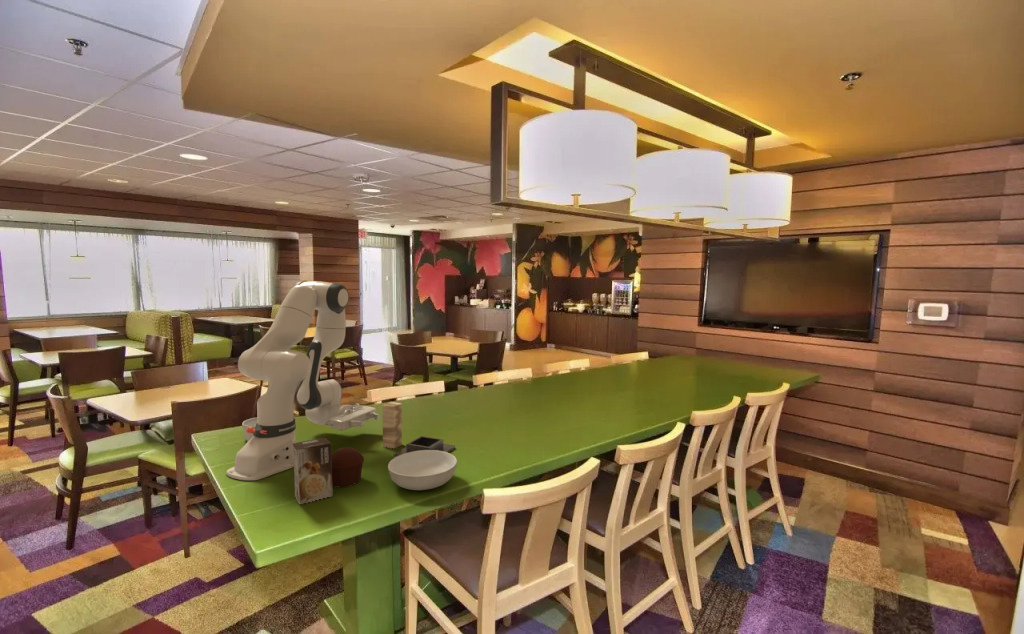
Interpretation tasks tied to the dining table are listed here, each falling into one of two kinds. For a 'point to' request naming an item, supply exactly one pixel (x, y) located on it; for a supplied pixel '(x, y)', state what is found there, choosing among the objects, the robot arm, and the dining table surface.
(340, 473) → the muffin
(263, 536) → the dining table surface
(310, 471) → the printed cardboard box
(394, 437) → the pillar
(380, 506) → the dining table surface
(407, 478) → the serving bowl
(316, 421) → the robot arm
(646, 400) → the dining table surface
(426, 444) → the collar
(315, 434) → the dining table surface
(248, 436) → the ramekin
